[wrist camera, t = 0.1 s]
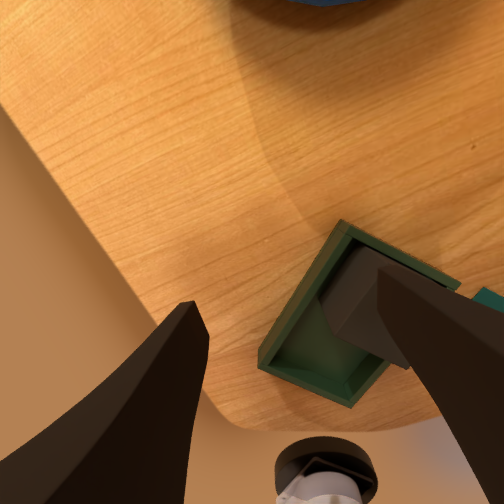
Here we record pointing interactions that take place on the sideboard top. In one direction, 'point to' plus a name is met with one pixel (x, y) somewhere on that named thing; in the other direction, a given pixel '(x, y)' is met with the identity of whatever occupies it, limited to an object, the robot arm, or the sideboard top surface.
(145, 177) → the sideboard top surface
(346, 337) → the dark brown block
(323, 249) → the frame
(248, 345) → the sideboard top surface
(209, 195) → the sideboard top surface
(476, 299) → the teal green block
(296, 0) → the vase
